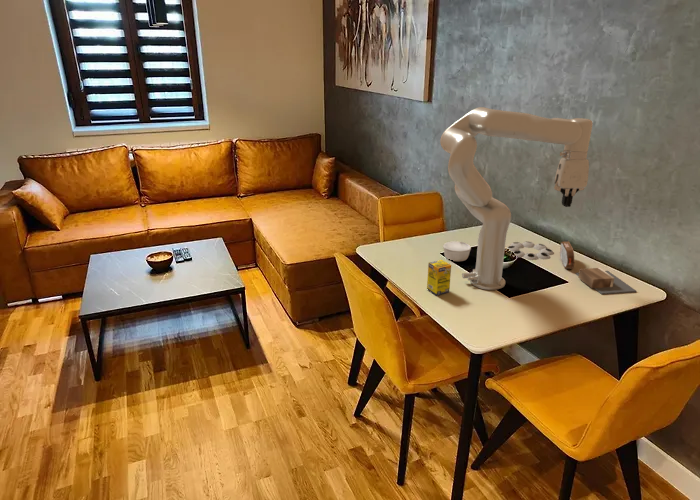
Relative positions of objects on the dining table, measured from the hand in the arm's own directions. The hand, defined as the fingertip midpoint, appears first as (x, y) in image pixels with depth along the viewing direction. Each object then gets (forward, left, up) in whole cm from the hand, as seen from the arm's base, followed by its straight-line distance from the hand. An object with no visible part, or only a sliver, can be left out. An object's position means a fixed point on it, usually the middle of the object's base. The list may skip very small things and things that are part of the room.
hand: (566, 205), depth 177 cm
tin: (+9, +9, -28) cm, 31 cm away
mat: (+15, -9, -28) cm, 33 cm away
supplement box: (-48, -7, -28) cm, 56 cm away
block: (+7, -9, -26) cm, 28 cm away
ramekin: (-32, +22, -28) cm, 48 cm away
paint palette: (+1, +24, -29) cm, 38 cm away
